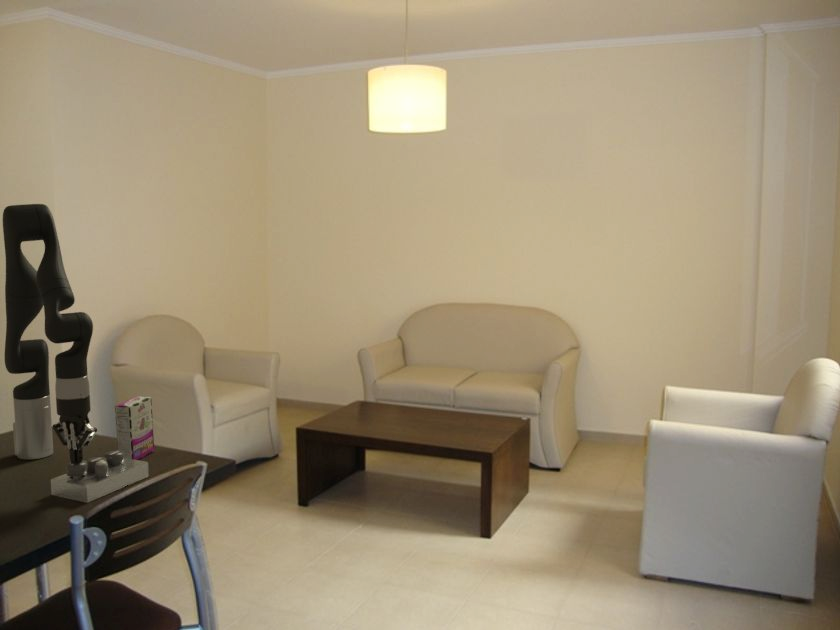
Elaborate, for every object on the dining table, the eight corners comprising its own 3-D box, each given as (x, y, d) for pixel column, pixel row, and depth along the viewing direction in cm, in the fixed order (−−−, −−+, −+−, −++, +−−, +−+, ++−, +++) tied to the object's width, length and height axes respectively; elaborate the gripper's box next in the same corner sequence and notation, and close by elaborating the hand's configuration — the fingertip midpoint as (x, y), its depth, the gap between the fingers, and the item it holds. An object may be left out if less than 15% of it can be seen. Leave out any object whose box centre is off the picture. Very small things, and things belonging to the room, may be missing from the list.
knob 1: (62, 488, 185) (61, 464, 185) (78, 482, 190) (77, 458, 189) (77, 491, 183) (75, 467, 183) (92, 485, 188) (91, 461, 187)
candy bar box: (139, 450, 220) (137, 395, 218) (154, 451, 219) (152, 396, 217) (116, 462, 209) (114, 404, 207) (133, 463, 208) (130, 406, 206)
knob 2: (82, 484, 191) (81, 460, 190) (97, 478, 195) (96, 455, 194) (96, 487, 189) (95, 463, 188) (111, 481, 193) (110, 458, 193)
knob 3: (101, 476, 196) (100, 454, 196) (115, 471, 201) (114, 448, 200) (115, 479, 194) (114, 456, 194) (129, 473, 199) (128, 451, 198)
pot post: (92, 477, 186) (92, 463, 186) (102, 473, 189) (101, 459, 188) (101, 478, 185) (101, 465, 185) (111, 475, 188) (110, 461, 187)
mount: (51, 494, 185) (50, 479, 184) (114, 470, 203) (113, 455, 203) (87, 502, 180) (86, 486, 180) (148, 476, 198) (148, 461, 198)
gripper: (40, 394, 183) (44, 463, 185) (80, 400, 177) (84, 471, 180) (65, 388, 189) (69, 455, 192) (105, 393, 184) (108, 462, 186)
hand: (76, 462), depth 186 cm, fingers closed
